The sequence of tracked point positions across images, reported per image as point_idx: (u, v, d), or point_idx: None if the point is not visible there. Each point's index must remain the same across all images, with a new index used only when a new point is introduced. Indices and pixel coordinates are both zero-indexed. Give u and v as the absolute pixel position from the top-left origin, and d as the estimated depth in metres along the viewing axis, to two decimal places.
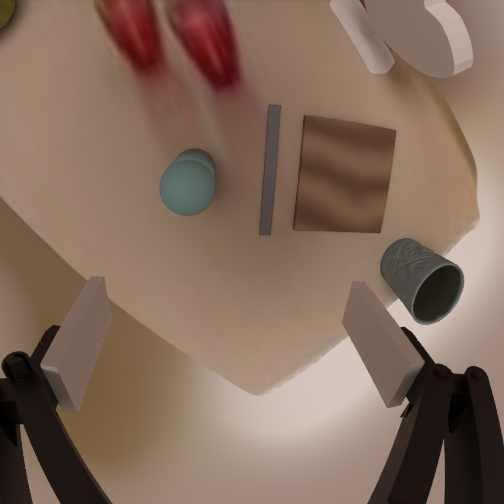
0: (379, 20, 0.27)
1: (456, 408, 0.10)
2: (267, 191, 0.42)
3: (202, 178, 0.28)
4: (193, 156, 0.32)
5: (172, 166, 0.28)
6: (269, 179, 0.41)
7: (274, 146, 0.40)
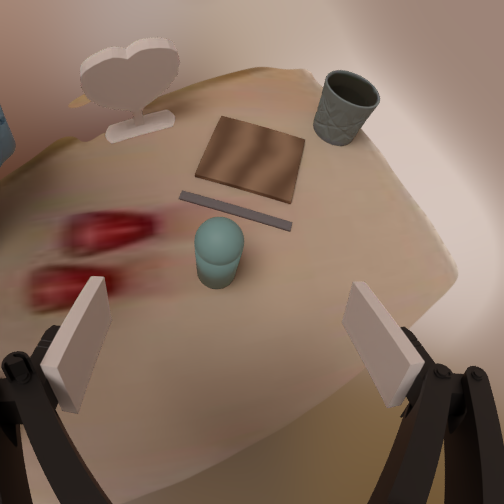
0: (131, 102, 0.44)
1: (456, 408, 0.10)
2: (252, 215, 0.49)
3: (212, 219, 0.34)
4: None
5: (196, 245, 0.34)
6: (241, 212, 0.49)
7: (214, 202, 0.49)
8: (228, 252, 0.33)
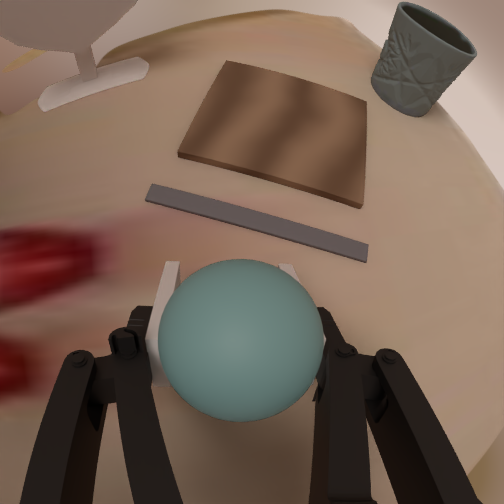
0: (70, 34, 0.20)
1: (368, 392, 0.11)
2: (294, 232, 0.24)
3: (216, 274, 0.09)
4: None
5: (162, 362, 0.09)
6: (272, 225, 0.24)
7: (216, 205, 0.24)
8: (281, 399, 0.08)
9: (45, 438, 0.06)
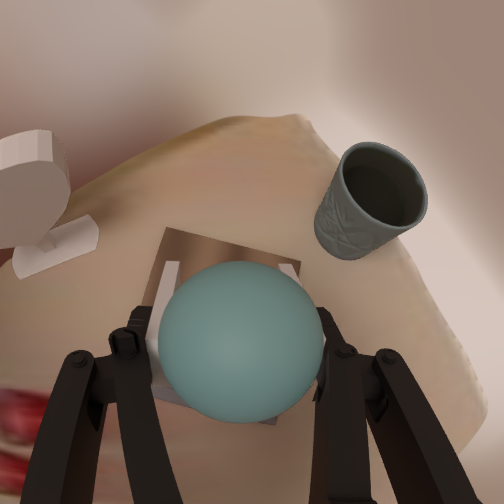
0: (19, 237, 0.26)
1: (367, 392, 0.11)
2: None
3: (216, 275, 0.09)
4: None
5: (162, 364, 0.09)
6: None
7: (163, 390, 0.30)
8: (281, 401, 0.08)
9: (45, 438, 0.06)
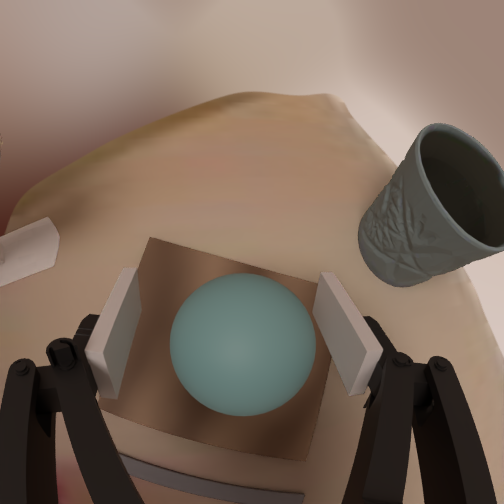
0: None
1: (419, 399, 0.11)
2: (224, 493, 0.18)
3: (222, 287, 0.10)
4: None
5: (174, 364, 0.10)
6: (202, 488, 0.18)
7: (145, 468, 0.18)
8: (278, 395, 0.10)
9: (2, 448, 0.05)
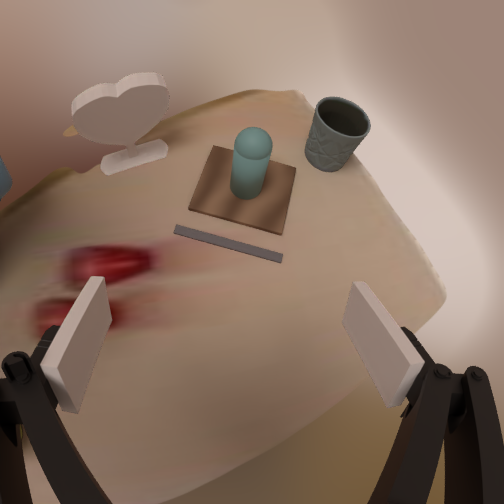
0: (124, 136, 0.47)
1: (456, 408, 0.10)
2: (244, 248, 0.51)
3: None
4: None
5: (236, 145, 0.43)
6: (234, 245, 0.51)
7: (207, 235, 0.51)
8: (262, 147, 0.42)
9: None
